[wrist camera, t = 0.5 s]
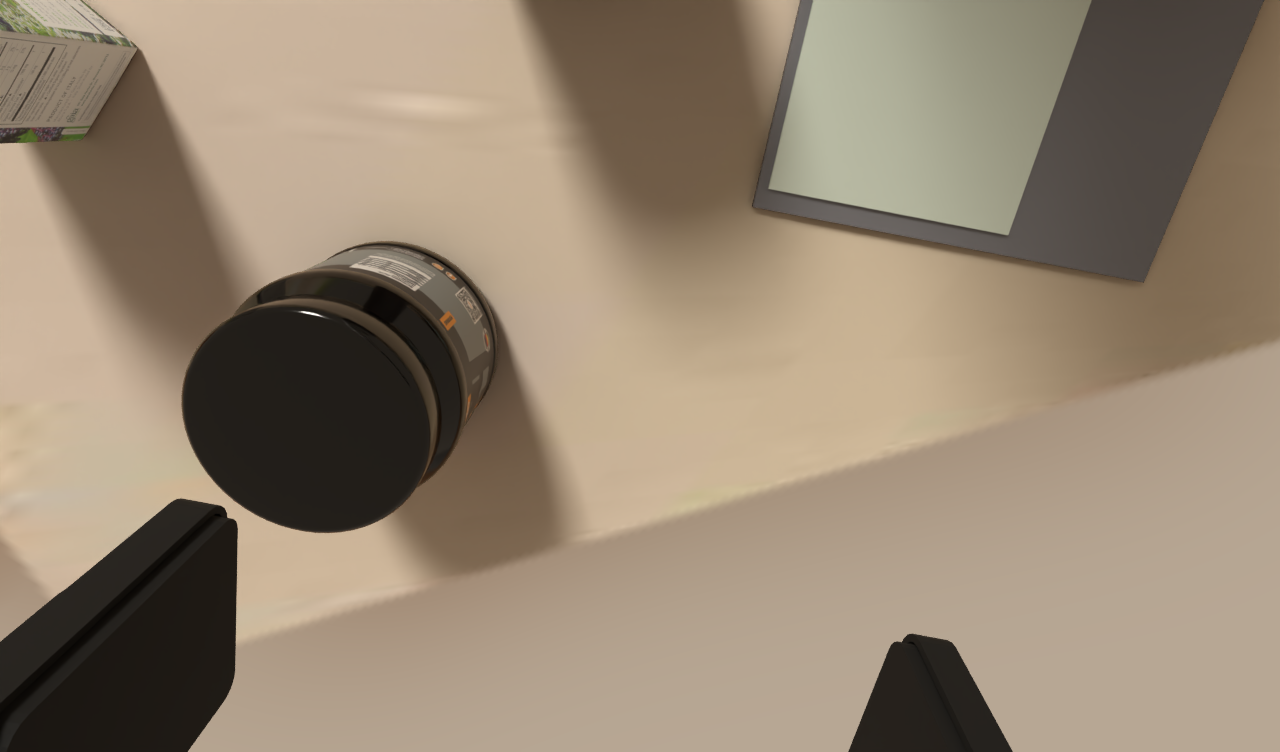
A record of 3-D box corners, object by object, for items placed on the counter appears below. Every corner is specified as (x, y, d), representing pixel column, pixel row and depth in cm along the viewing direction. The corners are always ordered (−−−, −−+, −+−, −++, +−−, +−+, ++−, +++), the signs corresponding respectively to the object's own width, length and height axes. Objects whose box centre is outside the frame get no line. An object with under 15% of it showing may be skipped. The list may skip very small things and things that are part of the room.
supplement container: (353, 446, 42) (241, 572, 31) (270, 267, 39) (111, 335, 27) (530, 399, 41) (481, 512, 30) (461, 211, 37) (377, 257, 26)
